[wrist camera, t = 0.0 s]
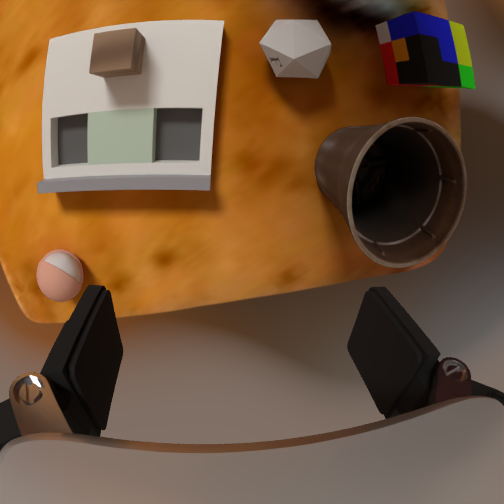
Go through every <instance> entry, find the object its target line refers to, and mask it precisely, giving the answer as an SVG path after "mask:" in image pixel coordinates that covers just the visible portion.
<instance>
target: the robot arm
mask: <svg viewBox="0 0 504 504" xmlns="http://www.w3.org/2000/svg"><path fill="white" fill-rule="evenodd" d="M347 348H348V351H349V354H350V356H351V357H352V359H353V361H354V363H355V365H356V367H357V369H358V371H359V373H360V375H361V377H362V378H363V380H364V382H365V384H366V386H367V388H368V390H369V392H370V394H371V396H372V398H373V400H374V402H375V404H376V406H377V408H378V410H379V412H380V413H381V414H384V416H385V418H386V419H384V420H381V421H377V422H374V423H369V424H365V425H362V426H357V427H353V428H348V429H344V430H339V431H334V432H329V433H324V434H318V435H312V436H305V437H299V438H291V439H284V440H275V441H265V442H252V443H237V444H170V443H154V442H141V441H129V440H121V439H113V438H105V437H100V433H101V430H105V429H106V426H107V421H108V416H109V411H110V406H111V402H112V397H113V393H114V389H115V384H116V380H117V376H118V372H119V368H120V364H121V360H122V356H123V346H122V342H121V339H120V334H119V330H118V326H117V321H116V317H115V312H114V307H113V302H112V297H111V293H110V291H109V290H106V288H105V286H99V285H89V286H88V287H87V289H86V290H85V292H84V294H83V295H82V297H81V299H80V301H79V302H78V304H77V306H76V308H75V310H74V311H73V313H72V315H71V317H70V319H69V320H68V321H66V323H65V324H64V326H63V328H62V330H61V332H60V334H59V336H58V338H57V339H56V341H55V343H54V345H53V347H52V349H51V351H50V353H49V356H48V358H47V360H46V362H45V364H44V366H43V368H42V371H41V373H40V374H39V373H36V372H27V373H23V374H21V375H20V376H18V377H17V378H16V379H15V380H14V381H13V382H12V384H11V386H10V389H9V399H7V400H6V401H4V402H1V403H0V504H504V393H503V392H501V391H499V390H496V389H494V388H491V387H489V386H486V385H483V384H481V383H478V382H476V381H473V380H471V373H470V370H469V368H468V367H467V365H466V364H465V363H464V362H462V361H461V360H459V359H457V358H453V357H446V358H443V359H442V360H441V361H440V362H439V361H438V360H437V359H438V357H439V356H440V352H439V351H438V350H437V348H436V347H435V346H434V345H433V343H432V342H431V341H430V340H429V338H428V337H427V336H426V335H425V333H424V332H423V331H422V330H421V329H420V327H419V326H418V325H417V324H416V323H415V321H414V320H413V319H412V318H411V317H410V315H409V314H408V313H407V312H406V311H405V309H404V308H403V307H402V306H401V305H400V303H399V302H398V301H397V300H396V299H395V298H394V297H393V295H392V294H391V293H390V292H389V291H388V290H387V289H386V288H385V287H371V288H370V289H369V291H367V292H366V293H365V295H364V298H363V301H362V304H361V307H360V310H359V313H358V316H357V319H356V322H355V325H354V327H353V330H352V333H351V336H350V338H349V341H348V345H347Z"/></svg>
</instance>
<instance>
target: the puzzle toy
mask: <svg viewBox="0 0 504 504" xmlns="http://www.w3.org/2000/svg"><path fill="white" fill-rule="evenodd" d="M376 30H377V34H378V39H379V43H380V48H381V53H382V58H383V63H384V68H385V74H386V80H387V85H405V86H422V87H440V88H468V89H475V82H474V75H473V69H472V63H471V57H470V52H469V47H468V43H467V38H466V34H465V30H464V26H463V25H460V24H458V23H455V22H452V21H449V20H445V19H442V18H438V17H435V16H431V15H427V14H424V13H419V12H415V11H412V12H410V13H407V14H404V15H401V16H399V17H396V18H393V19H391V20H388V21H386V22H383V23H381V24H378V25H376Z"/></svg>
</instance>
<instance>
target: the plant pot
mask: <svg viewBox="0 0 504 504" xmlns="http://www.w3.org/2000/svg"><path fill="white" fill-rule="evenodd" d="M373 143H375V146H372V144H373ZM365 163H366V164H367V167H366V168H365V167H364V166H363V165H364V164H365ZM315 172H316V177H317V181H318V185H319V187H320V189H321V190H322V192H323V193H324V194H325V195H326V197H327V198H329V200H330V201H331V202H332V203H333V204H334V205H335V206H336V208H337V209H338V210H339V211H340V212H341V214H342V215H343V216H344V219H345V221H346V223H347V224H348V226H349V228H350V230H351V233H352V235H353V238H354V240H355V241H356V243H357V245H358V246H359V247H360V249H361V250H362V251H363V253H364V254H365V255H366V256H368V257H369V258H370V259H371V260H373V261H375V262H376V263H379V264H381V265H384V266H387V267H393V268H402V267H408V266H412V265H415V264H418V263H420V262H422V261H424V260H426V259H427V258H429V257H430V256H432V255H433V254H435V253H436V252H437V251H438V250H439V249H440V248H441V247H442V246H443V245H444V244H445V243H446V242H447V240H448V239H449V238H450V236H451V235H452V233H453V231H454V230H455V228H456V226H457V224H458V222H459V219H460V217H461V214H462V211H463V208H464V204H465V198H466V192H467V175H466V168H465V163H464V160H463V156H462V154H461V151H460V149H459V147H458V145H457V144H456V142H455V141H454V139H453V138H452V137H451V136H450V134H449V133H448V132H447V131H446V130H445V129H444V128H443V127H441V126H440V125H438V124H437V123H435V122H433V121H431V120H428V119H425V118H420V117H404V118H399V119H396V120H393V121H391V122H388V123H383V124H380V125H374V126H351V127H345V128H342V129H339V130H337V131H335V132H333V133H332V134H331V135H330V136H329V137H327V139H326V140H325V141H324V142H323V144H322V145H321V147H320V149H319V151H318V154H317V157H316V160H315ZM356 177H358V179H359V180H358V181H355V178H356ZM378 177H380V180H379V182H378V184H377V185H376V187H375V188H374V189H373V190H371V189H372V186H373V185H374V183H375V181H376V180H377V178H378Z"/></svg>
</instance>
